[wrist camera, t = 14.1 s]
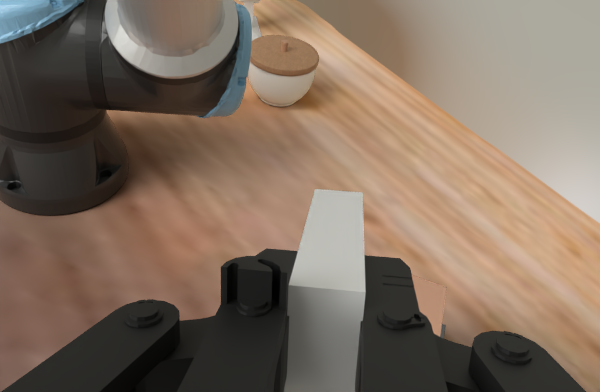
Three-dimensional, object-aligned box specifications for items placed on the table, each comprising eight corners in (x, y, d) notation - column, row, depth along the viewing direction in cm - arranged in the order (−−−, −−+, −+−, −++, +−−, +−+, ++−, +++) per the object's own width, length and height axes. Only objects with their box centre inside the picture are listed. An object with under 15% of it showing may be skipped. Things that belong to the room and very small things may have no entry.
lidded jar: (282, 72, 86) (290, 19, 80) (324, 104, 81) (335, 50, 75) (230, 87, 80) (233, 32, 74) (271, 123, 75) (278, 66, 69)
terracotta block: (382, 442, 42) (437, 355, 33) (314, 415, 43) (348, 323, 34) (395, 379, 47) (446, 287, 37) (332, 355, 47) (368, 259, 38)
